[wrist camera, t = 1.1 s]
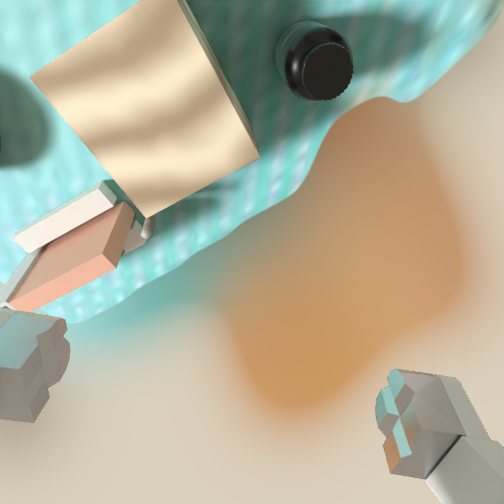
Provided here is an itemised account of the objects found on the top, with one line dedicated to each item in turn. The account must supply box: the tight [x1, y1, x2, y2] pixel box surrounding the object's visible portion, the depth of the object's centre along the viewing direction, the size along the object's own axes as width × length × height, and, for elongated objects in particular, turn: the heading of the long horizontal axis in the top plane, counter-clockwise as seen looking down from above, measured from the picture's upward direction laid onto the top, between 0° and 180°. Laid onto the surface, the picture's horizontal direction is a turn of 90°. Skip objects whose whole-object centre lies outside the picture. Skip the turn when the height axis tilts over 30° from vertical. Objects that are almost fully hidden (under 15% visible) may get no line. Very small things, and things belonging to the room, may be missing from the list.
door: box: [0, 200, 135, 312], centre depth 48 cm, size 4×17×13 cm, turn 118°
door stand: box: [12, 181, 147, 256], centre depth 52 cm, size 10×15×2 cm, turn 118°
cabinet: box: [30, 0, 260, 239], centre depth 40 cm, size 20×17×12 cm
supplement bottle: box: [275, 20, 353, 102], centre depth 38 cm, size 7×7×12 cm
